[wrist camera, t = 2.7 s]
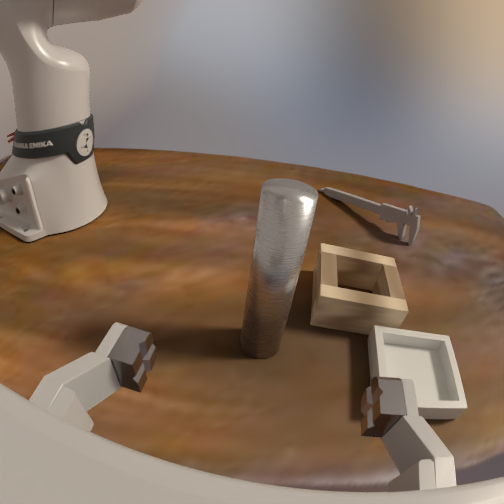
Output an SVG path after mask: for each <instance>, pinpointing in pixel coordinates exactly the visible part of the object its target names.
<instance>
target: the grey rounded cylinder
mask: <svg viewBox="0 0 504 504" xmlns="http://www.w3.org/2000/svg"><path fill="white" fill-rule="evenodd" d="M317 199H318V192H317V191H316V190H315V189H314V188H313V187H311V186H310V185H308V184H305V183H303V182H300V181H296V180H292V179H284V178H276V179H270V180H267V181H265V182H264V183H263V184H262V190H261V197H260V204H259V211H258V218H257V226H256V233H255V240H254V247H253V254H252V261H251V268H250V275H249V282H248V289H247V296H246V303H245V310H244V318H243V325H242V332H241V339H240V345H241V348H242V349H243V351H244V352H245V353H246V354H247V355H249V356H251V357H253V358H257V359H266V358H270V357H272V356H274V355H275V354H276V353H277V352H278V350H279V347H280V343H281V340H282V336H283V333H284V329H285V326H286V322H287V318H288V315H289V311H290V307H291V304H292V300H293V296H294V292H295V289H296V285H297V281H298V277H299V273H300V269H301V265H302V261H303V258H304V254H305V250H306V245H307V241H308V237H309V233H310V229H311V225H312V221H313V216H314V212H315V208H316V204H317Z"/></svg>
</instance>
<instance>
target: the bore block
mask: <svg viewBox="0 0 504 504" xmlns="http://www.w3.org/2000/svg"><path fill="white" fill-rule="evenodd" d="M338 284H339V285H344V286H349V287H354V288H359V289H365V290H370V291H372V294H371V293H366V292H361V291H355V290H350V289H345V288H340V287H338ZM408 312H409V311H408V307H407V303H406V299H405V296H404V292H403V288H402V284H401V281H400V277H399V274H398V270H397V267H396V263H395V260H394V258H390V257H385V256H381V255H376V254H371V253H367V252H362V251H357V250H352V249H348V248H343V247H338V246H333V245H328V244H323V243H321V246H320V249H319V253H318V257H317V260H316V264H315V267H314V271H313V291H312V308H311V323H310V325H313V326H318V327H324V328H329V329H335V330H341V331H347V332H353V333H359V334H365V335H369V334H370V332H371V330H372V328H373V326H374V325H377V326H384V327H390V328H396V329H399V327H400V326H401V324H402V322H403V320H404V319H405V317H406V315H407V313H408Z"/></svg>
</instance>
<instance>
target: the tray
mask: <svg viewBox="0 0 504 504" xmlns="http://www.w3.org/2000/svg"><path fill="white" fill-rule="evenodd" d="M367 342H368V354H369V368H370V385H371V380H372V379H373V378H374V377H375V376H380V377H392V378H400V379H412V380H413V382H414V386H415V392H416V399H417V406H418V413H419V416H422V417H423V418H424V419H456V418H457V417H458V416H460V415H461V414H462V413H463V412H464V411H465V410H466V409H467V403H466V399H465V394H464V390H463V386H462V382H461V378H460V374H459V370H458V366H457V362H456V359H455V355H454V352H453V348H452V345H451V341H450V338H449V336H445V335H437V334H430V333H423V332H416V331H409V330H403V329H396V328H390V327H384V326H377V325H374V326H373V328H372V330H371V332H370V334H369V336H368V338H367Z"/></svg>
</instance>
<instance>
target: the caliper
mask: <svg viewBox="0 0 504 504" xmlns="http://www.w3.org/2000/svg"><path fill="white" fill-rule="evenodd" d="M319 191H321V192H324V194H326V195H327V196H329V197H331V198H334V199H337V200H340V201H343V202H346V203H349V204H352V205H355V206H358V207H361V208H363V209H366V210H369V211H372V212H375V213H377V214H380V219H381V220H385V221H387V222H396V223H397V228H398V236H399V239H400V240H401V241H402V240H403V239H404V236H405V231H406V224H407V225H410V232H409V240H408V245H411V244H412V243H414V240H415V238H416V235H417V233H418V230H419V226H420V216H419V215H417V214H418V208H416V209H414V210H413V208H412V205H411V206H409V207H408V211H407V210H405V209H402V208H399V207H396V206H393V205H389V204H386V203H383V204H379V203H376V202H373V201H370V200H367V199H364V198H361V197H358V196H355V195H352V194H349V193H346V192H343V191H339V190H336V189H333V188H329V187H326V188H323V189H319Z"/></svg>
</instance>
